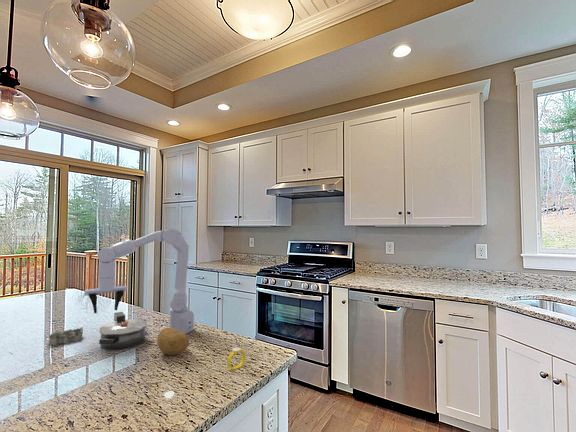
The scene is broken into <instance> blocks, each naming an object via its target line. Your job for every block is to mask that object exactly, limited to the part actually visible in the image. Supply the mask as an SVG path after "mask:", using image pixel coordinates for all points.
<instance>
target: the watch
mask: <svg viewBox="0 0 576 432" xmlns="http://www.w3.org/2000/svg"><path fill="white" fill-rule="evenodd" d="M239 353H241V360H240V362H239V364H238V365H235V366H232V364H231V363H232V359H233V356H234V355H235V354H239ZM245 361H246V353H245V351H244V350H242V348H241V347H239V346H237V347H233V348H232V349H231V352H230V353H229V355H228V357H227V366H228V368H229V369H231V370H233V371H236V370H238V369H240V368H242V367H243V365H244V363H245Z"/></svg>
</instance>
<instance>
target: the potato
mask: <svg viewBox="0 0 576 432" xmlns="http://www.w3.org/2000/svg"><path fill="white" fill-rule="evenodd" d="M156 339H157V341H156V343H157V346H158V349H159V351H160V352H161V353H162V354H163V353H164V354H165V355H167V356H175V355H178V356H179V355H180V354H182V353H184V352H185V351H186V350H187V349H188V348H189V344H190V341H189V337H188V336H187V334H184V333H183V332H181V331H179V330H177V329H174V328H170V327H165V328H162V329H161V330H160V331H159V333H158V334H157V338H156Z"/></svg>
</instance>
